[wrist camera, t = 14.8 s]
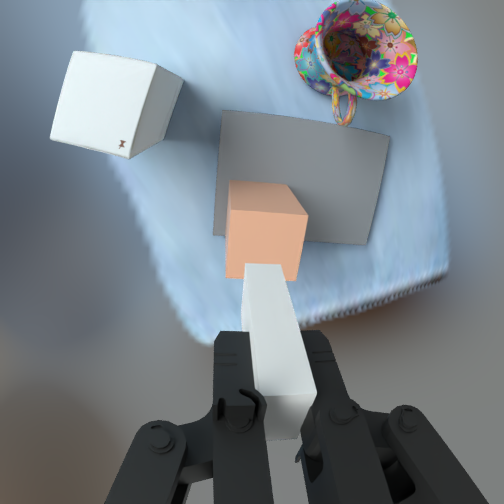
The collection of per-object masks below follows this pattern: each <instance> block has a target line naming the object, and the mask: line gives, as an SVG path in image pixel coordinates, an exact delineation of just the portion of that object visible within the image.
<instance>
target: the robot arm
mask: <svg viewBox="0 0 504 504" xmlns="http://www.w3.org/2000/svg"><path fill="white" fill-rule="evenodd" d="M241 321H242V331H220V333H219V334H218V336H217V338H216V339H215V341H214V374H213V375H214V376H213V377H214V378H213V404H212V407H211V410H210V412H209V413H208V414H207V415H206V416H205V417H203V418H202V419H200V420H198V421H195V422H192V423H188V424H184V425H179V426H177V425H175V424H173V423H171V422H169V421H162V420H157V421H151V422H148V423H147V424H145V425H143V426H142V427H141V428H140V429H139V430H138V432H137V433H136V435H135V437H134V439H133V442H132V444H131V446H130V448H129V450H128V452H127V454H126V457H125V459H124V461H123V463H122V465H121V468H120V470H119V472H118V474H117V476H116V478H115V481H114V483H113V485H112V487H111V490H110V492H109V494H108V496H107V499H106V501H105V503H104V504H185V503H186V500H187V497H188V493H189V490H190V487H191V484H192V483H194V482H198V481H202V480H206V479H209V478H213V485H214V486H213V487H214V488H213V489H214V504H274V501H273V493H272V485H271V477H270V469H269V462H268V454H267V445H266V441H272V440H287V439H297V438H298V435H299V433H301V437H302V443H303V444H302V446H301V448H300V450H299V451H298V453H297V455H296V458H295V463H297V462H299V460H300V459H301V463H302V468H303V474H304V479H305V485H306V490H307V496H308V502H309V504H489V503H488V502H487V500H486V499H485V498H484V496H483V495H482V493H481V492H480V490H479V489H478V488H477V486H476V485H475V483H474V482H473V481H472V479H471V478H470V476H469V475H468V474H467V472H466V471H465V469H464V468H463V467H462V465H461V464H460V463H459V461H458V460H457V458H456V457H455V456H454V454H453V453H452V452H451V450H450V449H449V448H448V446H447V445H446V444H445V442H444V441H443V440H442V438H441V437H440V436H439V434H438V433H437V432H436V430H435V429H434V428H433V426H432V425H431V424H430V422H429V421H428V420H427V418H426V417H425V416H424V414H422V412H421V411H420V410H418V409H417V408H415V407H413V406H409V405H402V406H397V407H396V408H395V409H393V410H392V411H391V413H390V414H389V413H381V412H372V411H368V410H364V409H362V408H360V406H359V404H357V403H356V402H355V401H353V400H352V399H350V398H349V396H348V393H347V391H346V388H345V385H344V382H343V379H342V376H341V374H340V371H339V368H338V365H337V362H336V359H335V357H334V354H333V353H332V348H331V346H330V343H329V340H328V339H327V338H326V337H325V336H324V335H323V334H322V332H320V330H309V331H308V330H307V331H300V329H299V326H298V322H297V319H296V315H295V312H294V308H293V305H292V301H291V298H290V294H289V291H288V288H287V284H286V281H285V277H284V274H283V271H282V267H281V264H254V263H245V272H244V284H243V295H242V307H241Z"/></svg>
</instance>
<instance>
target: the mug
mask: <svg viewBox="0 0 504 504" xmlns="http://www.w3.org/2000/svg"><path fill="white" fill-rule="evenodd" d="M294 58H295V64H296V68H297V70H298V72H299V74H300V76H301V77H302V79H303V80H304V81H305V82H306V83H307V84H308V85H309V86H310V87H312V88H313V89H315V90H316V91H318V92H320V93H323V94H326V95H331V96H332V109H333V114H334V118H335V121H336V122H337V124H338V125H340V126H344V127H346V126H348V125H349V124H350V123H351V122H352V120H353V118H354V115H355V111H356V106H357V97H360V98H363V99H367V100H387V99H391V98H393V97H396V96H398V95H399V94H401V93H402V92H403V91H405V90H406V89H407V87H408V86H409V85H410V84H411V82H412V80H413V78H414V76H415V73H416V70H417V63H418V56H417V49H416V44H415V41H414V39H413V36H412V34H411V32H410V30H409V29H408V27H407V26H406V24H405V23H404V22H403V20H402V19H401V18H400V17H399V16H398V15H397V14H396V13H395V12H393V11H392V10H391V9H389V8H388V7H386V6H385V5H383V4H381V3H379V2H376V1H374V0H339V1H337V2H335V3H333V4H332V5H330V6H329V7H328V8H327V9H326V10H325V11H324V12H323V13H322V15H321V16H320V18H319V20H318V23H317V26H316V27H313V28H311V29H309V30H308V31H306V32H305V33H304V34H303V35H302V36H301V37H300V39H299V40H298V42H297V44H296V47H295V53H294ZM346 94H348V97H349V102H348V108H347V112H346V115H345V117H344V119H343V120H342V117H341V113H340V107H339V96H342V95H346ZM356 96H357V97H356Z"/></svg>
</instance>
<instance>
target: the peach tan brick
mask: <svg viewBox="0 0 504 504" xmlns="http://www.w3.org/2000/svg"><path fill="white" fill-rule="evenodd" d="M307 221H308V214H307V213H306V211H305V210H304V208H303V207H302V206H301V204H300V203H299V201H298V200H297V198H296V197H295V196H294V194H293V193H292V191H291V190H290V188H289V187H288V186H287V185H286V184H276V183H265V182H253V181H240V180H230V182H229V194H228V206H227V219H226V232H225V252H226V278H236V279H244V272H245V263H254V264H281V267H282V271H283V274H284V277H285V281H296V278H297V273H298V268H299V263H300V258H301V253H302V247H303V242H304V237H305V231H306V226H307Z"/></svg>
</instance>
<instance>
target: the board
mask: <svg viewBox="0 0 504 504" xmlns="http://www.w3.org/2000/svg"><path fill="white" fill-rule="evenodd" d="M389 139H390V136H387V135H383V134H379V133H375V132H370V131H366V130H361V129H357V128H352V127H347V126H346V127H344V126H340V125H337V124H331V123H326V122H320V121H314V120H308V119H301V118H294V117H287V116H279V115H271V114H262V113H252V112H242V111H229V110H222V119H221V130H220V141H219V154H218V166H217V180H216V194H215V210H214V227H213V235H218V236H225V232H226V219H227V206H228V194H229V182H230V180H240V181H253V182H265V183H276V184H286V185H287V186H288V187H289V188H290V190H291V191H292V193H293V194H294V196H295V197H296V198H297V200H298V201H299V203H300V204H301V206H302V207H303V208H304V210H305V211H306V213H307V214H308V221H307V226H306V231H305V237H304V241H314V242H328V243H342V244H356V245H366V242H367V239H368V235H369V231H370V227H371V223H372V219H373V215H374V211H375V207H376V203H377V198H378V194H379V190H380V185H381V180H382V176H383V171H384V166H385V161H386V156H387V150H388V145H389Z"/></svg>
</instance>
